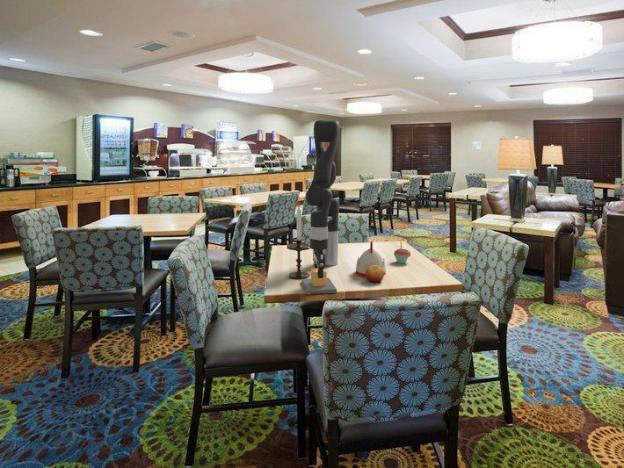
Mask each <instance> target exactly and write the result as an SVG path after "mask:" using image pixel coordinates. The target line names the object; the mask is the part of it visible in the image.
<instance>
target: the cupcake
mask: <svg viewBox="0 0 624 468" xmlns="http://www.w3.org/2000/svg"><path fill="white" fill-rule="evenodd" d="M411 255H412V254H411V252H410V250H408V249H406V248H403V240H402V239H400V248H397V249H395V250H394V252H393V256H394V258H395V260H396V263H398V264H406V263H407V261H408V259H409V257H411Z"/></svg>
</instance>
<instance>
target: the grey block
mask: <svg viewBox="0 0 624 468" xmlns="http://www.w3.org/2000/svg"><path fill="white" fill-rule="evenodd" d="M301 284H302V286H303V285H304V286H303V288H304V287H305V288H304V290H305V289H306V290H305V292H306V291H307V292H306V294H307V293H322V294H337V292H338V289H337V288H336V286H335V285H334V283H333V282H332V280H331V279H330V278H329V277H327V282H326V286H313V285H312V283H311V278H306V279H301Z"/></svg>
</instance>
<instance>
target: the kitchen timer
mask: <svg viewBox="0 0 624 468" xmlns="http://www.w3.org/2000/svg"><path fill="white" fill-rule="evenodd" d="M369 242H370V243H369V244H370V245H369V248H368V249H366V250H364V251H363V252H362V254H361V255H360V256H359V257H357V259H356V263H355V264H356V265H355V266H356V267H355V274H356V275H357V276H359V277H363V278H367V276H366V269H367V268H368V267H369V266H372V265H378V266H380V267H381V268H383V271H384V275H385V276H386V272H387V271H386V262H385V258H383V256H382V255H381V254H380V253H379V251H378V250H376V249H375V248H373V246H374V243H373V241H369Z"/></svg>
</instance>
